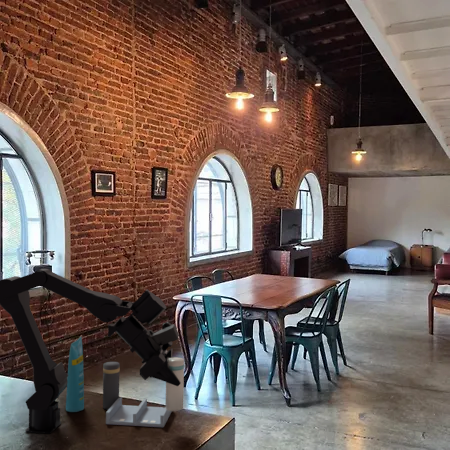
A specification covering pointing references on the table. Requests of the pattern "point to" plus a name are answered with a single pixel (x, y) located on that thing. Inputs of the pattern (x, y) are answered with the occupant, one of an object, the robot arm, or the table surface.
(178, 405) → the white bottle
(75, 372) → the tube
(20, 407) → the table surface
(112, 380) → the grey bottle
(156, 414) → the slot rack
